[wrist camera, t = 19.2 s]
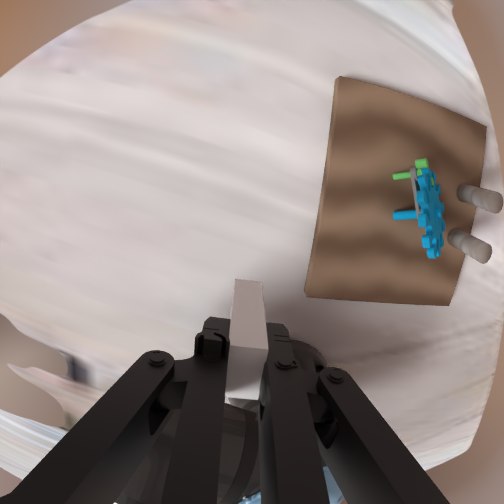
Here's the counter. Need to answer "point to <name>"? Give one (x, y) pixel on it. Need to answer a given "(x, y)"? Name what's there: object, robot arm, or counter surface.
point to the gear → (425, 206)
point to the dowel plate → (394, 198)
